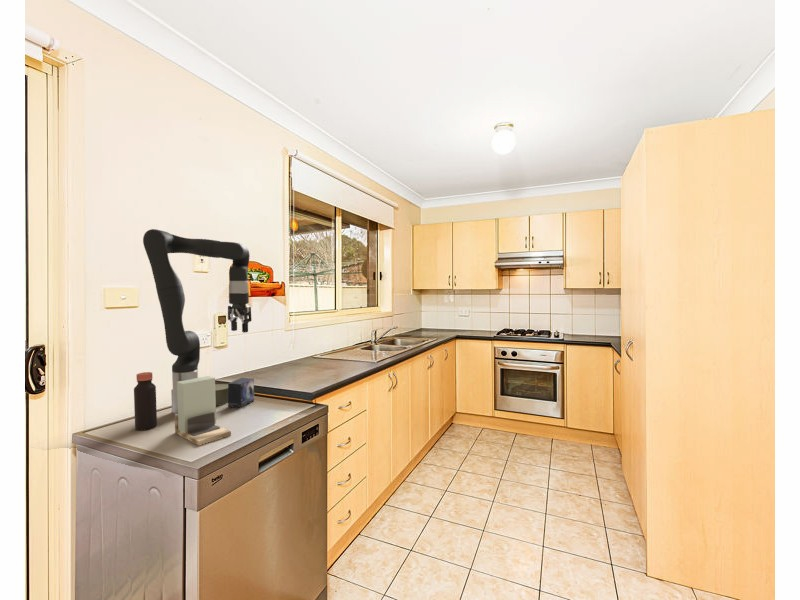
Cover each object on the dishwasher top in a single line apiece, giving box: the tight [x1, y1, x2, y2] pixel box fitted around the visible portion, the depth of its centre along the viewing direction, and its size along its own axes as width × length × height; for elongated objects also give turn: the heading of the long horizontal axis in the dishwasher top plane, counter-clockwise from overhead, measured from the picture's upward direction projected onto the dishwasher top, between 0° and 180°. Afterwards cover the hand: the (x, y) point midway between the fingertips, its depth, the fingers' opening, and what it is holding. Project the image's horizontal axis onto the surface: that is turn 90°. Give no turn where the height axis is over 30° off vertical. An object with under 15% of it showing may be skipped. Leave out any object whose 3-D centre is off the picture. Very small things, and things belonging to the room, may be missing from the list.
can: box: [215, 383, 228, 406], centre depth 176 cm, size 12×12×7 cm
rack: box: [174, 412, 232, 446], centre depth 139 cm, size 18×11×6 cm, turn 51°
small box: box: [227, 377, 255, 408], centre depth 173 cm, size 11×6×10 cm, turn 168°
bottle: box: [133, 371, 158, 431], centre depth 145 cm, size 7×7×20 cm
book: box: [177, 375, 217, 433], centre depth 141 cm, size 5×11×17 cm, turn 142°
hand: (239, 331), depth 163 cm, fingers open, 8 cm apart
